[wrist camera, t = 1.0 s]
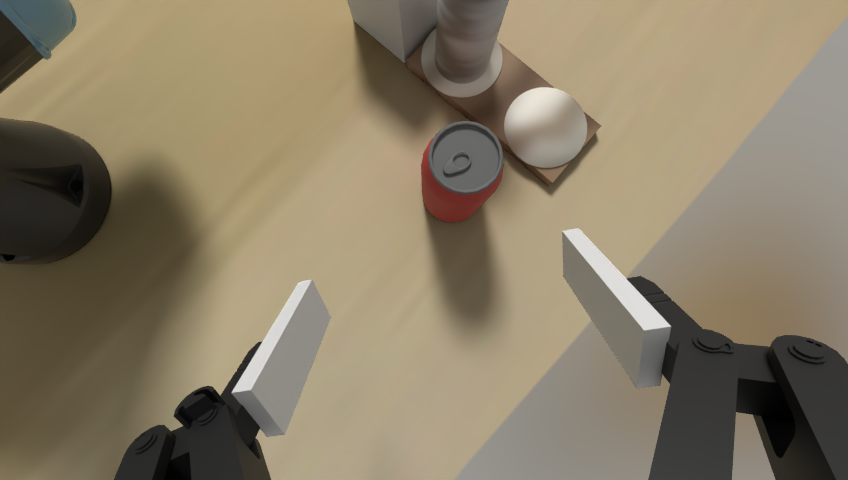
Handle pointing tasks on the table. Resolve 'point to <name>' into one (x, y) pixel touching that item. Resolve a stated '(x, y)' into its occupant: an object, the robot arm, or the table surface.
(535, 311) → the table surface
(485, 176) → the beer can
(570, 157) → the board
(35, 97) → the table surface
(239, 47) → the table surface
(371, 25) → the white upright block
